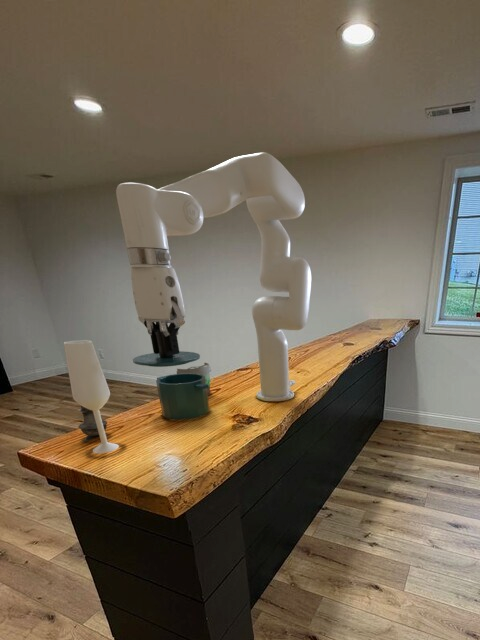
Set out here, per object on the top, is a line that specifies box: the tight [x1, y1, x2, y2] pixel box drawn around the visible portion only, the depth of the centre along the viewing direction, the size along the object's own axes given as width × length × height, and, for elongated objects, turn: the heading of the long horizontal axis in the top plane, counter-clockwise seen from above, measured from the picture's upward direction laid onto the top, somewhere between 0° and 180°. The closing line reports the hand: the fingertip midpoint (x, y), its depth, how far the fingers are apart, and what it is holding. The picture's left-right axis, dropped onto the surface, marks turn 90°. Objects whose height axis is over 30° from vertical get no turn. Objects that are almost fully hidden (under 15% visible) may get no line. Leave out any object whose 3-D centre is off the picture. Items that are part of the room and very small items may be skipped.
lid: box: [132, 329, 201, 368], centre depth 75 cm, size 14×14×7 cm
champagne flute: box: [63, 339, 120, 454], centre depth 74 cm, size 7×7×24 cm
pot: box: [156, 373, 210, 421], centre depth 99 cm, size 13×18×10 cm
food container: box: [176, 362, 212, 397], centre depth 116 cm, size 12×6×10 cm, turn 150°
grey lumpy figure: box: [78, 405, 108, 442], centre depth 82 cm, size 6×6×12 cm
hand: (166, 352), depth 76 cm, fingers closed on lid, 3 cm apart
